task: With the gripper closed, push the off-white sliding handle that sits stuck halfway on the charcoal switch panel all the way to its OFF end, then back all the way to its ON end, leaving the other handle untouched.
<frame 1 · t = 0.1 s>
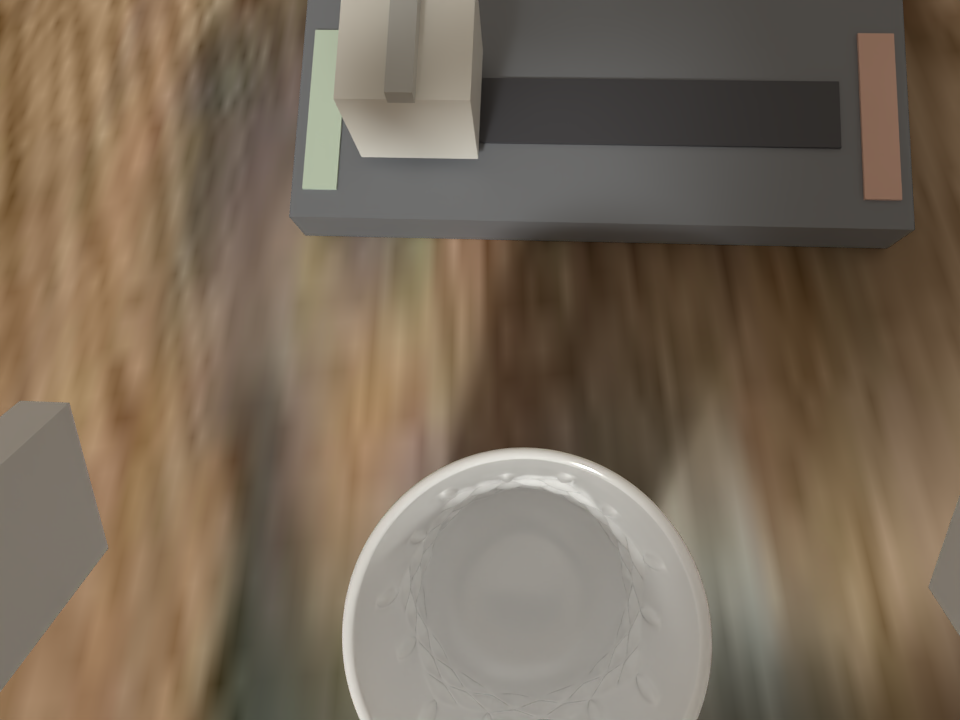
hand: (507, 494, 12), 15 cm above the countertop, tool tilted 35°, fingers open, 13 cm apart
white cup: (523, 578, 26), on the countertop
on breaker: (413, 67, 24), point 5 cm above the countertop, slide at 6.0 cm
switch panel: (593, 15, 30), on the countertop
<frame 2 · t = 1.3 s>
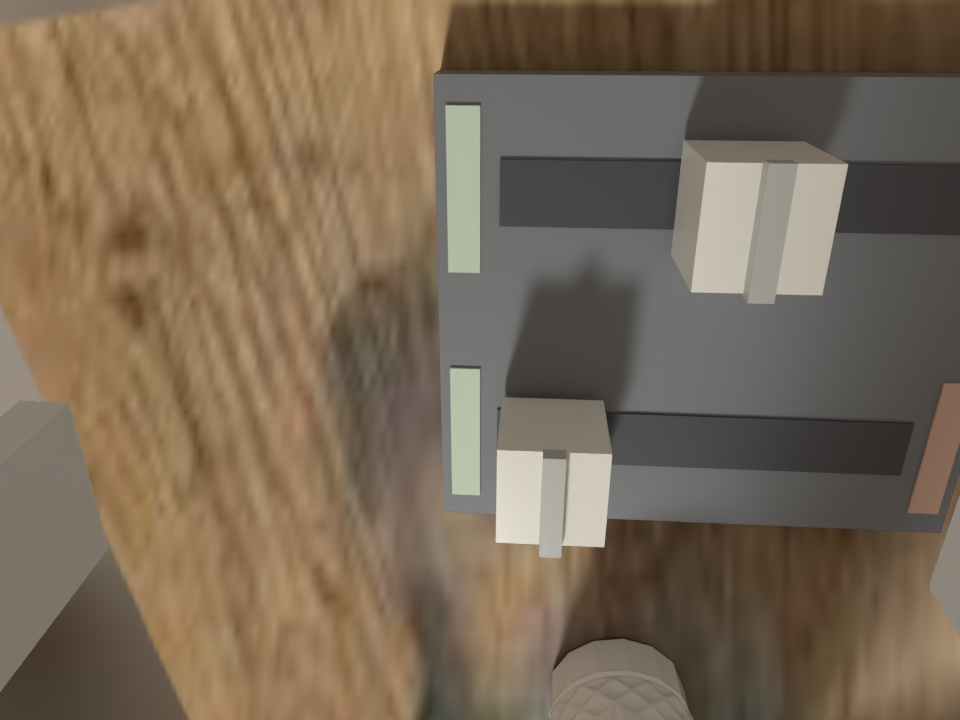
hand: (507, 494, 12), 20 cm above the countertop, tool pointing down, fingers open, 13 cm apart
white cup: (614, 682, 40), on the countertop
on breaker: (551, 473, 29), point 5 cm above the countertop, slide at 6.0 cm
switch panel: (703, 308, 31), on the countertop
tripped breaker: (752, 216, 25), point 5 cm above the countertop, slide at 0.0 cm
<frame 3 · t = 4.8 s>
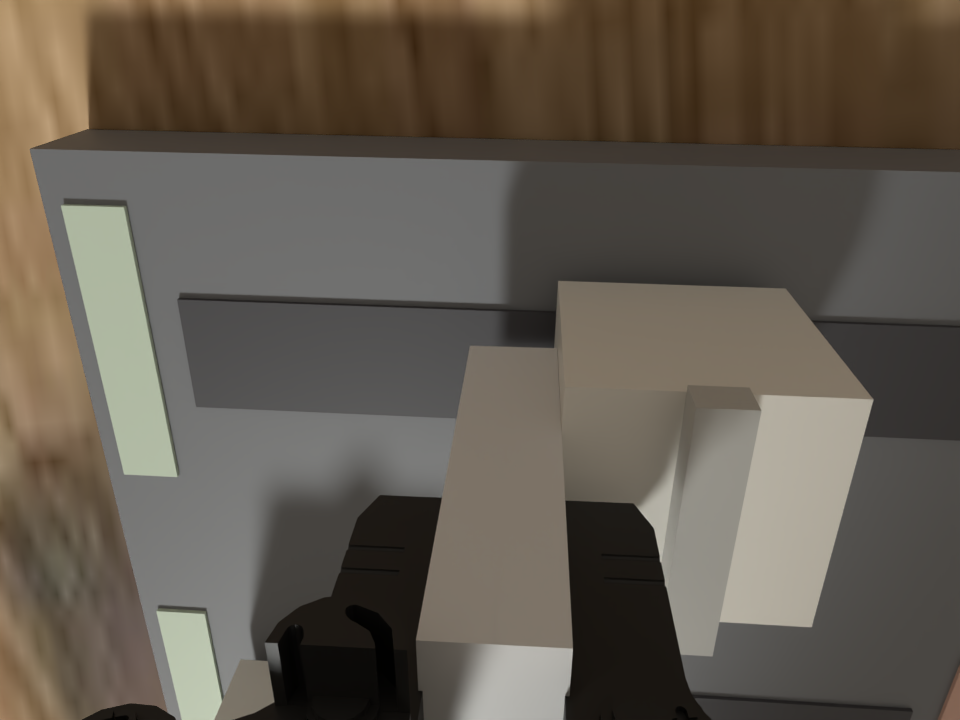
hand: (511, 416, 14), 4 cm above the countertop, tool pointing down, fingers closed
switch panel: (576, 512, 19), on the countertop
tripped breaker: (677, 450, 13), point 5 cm above the countertop, slide at -1.1 cm, touching gripper
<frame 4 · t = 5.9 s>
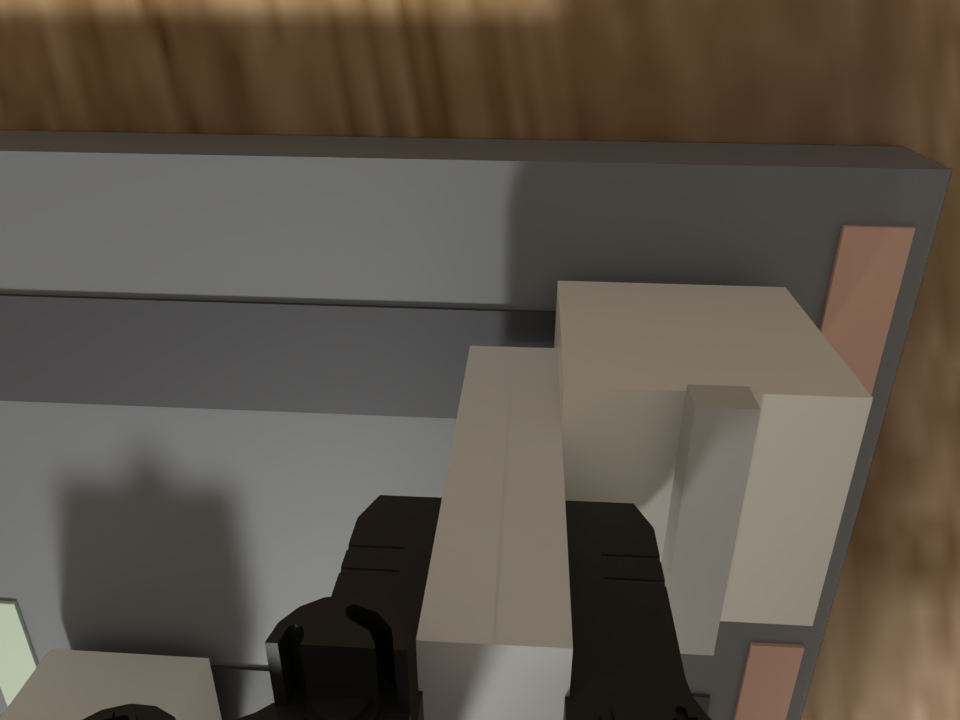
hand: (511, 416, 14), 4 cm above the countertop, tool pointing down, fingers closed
switch panel: (383, 502, 19), on the countertop
tripped breaker: (677, 449, 13), point 5 cm above the countertop, slide at -6.0 cm, touching gripper
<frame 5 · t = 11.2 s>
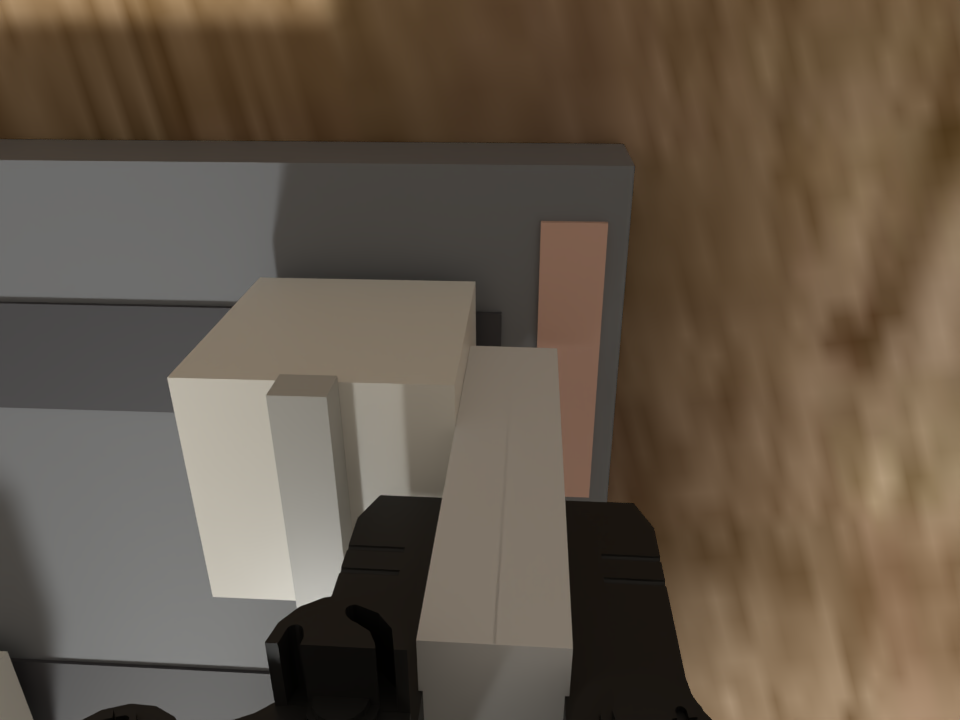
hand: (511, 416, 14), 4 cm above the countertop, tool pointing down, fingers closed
switch panel: (184, 497, 20), on the countertop
tripped breaker: (348, 439, 13), point 5 cm above the countertop, slide at -5.7 cm, touching gripper
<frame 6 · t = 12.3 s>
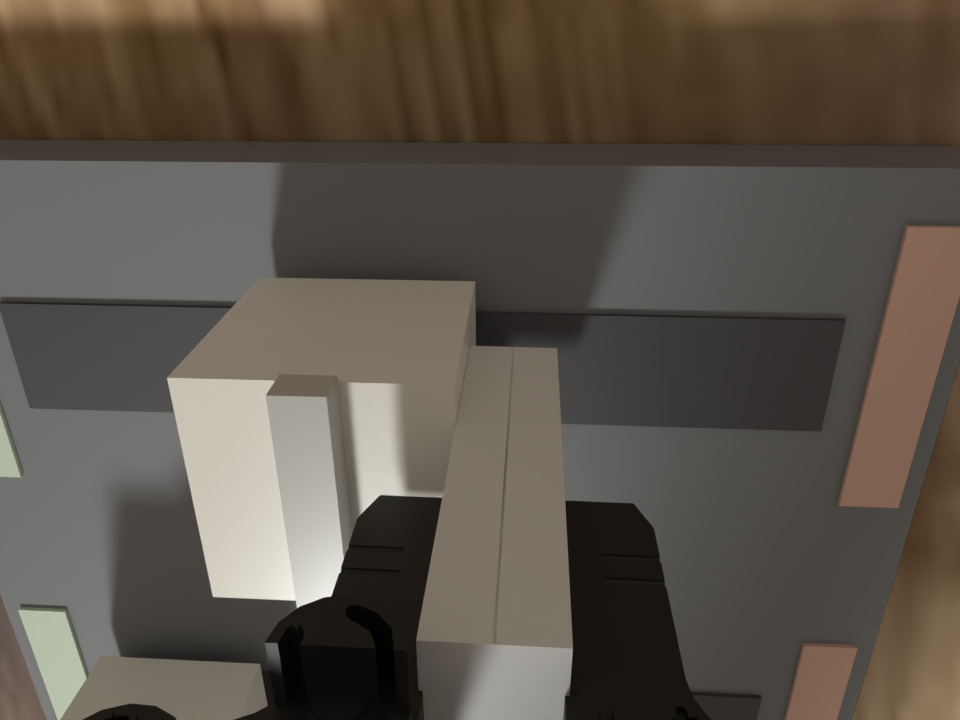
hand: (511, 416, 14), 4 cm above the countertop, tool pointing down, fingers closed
switch panel: (431, 506, 19), on the countertop
tripped breaker: (348, 439, 13), point 5 cm above the countertop, slide at 0.7 cm, touching gripper
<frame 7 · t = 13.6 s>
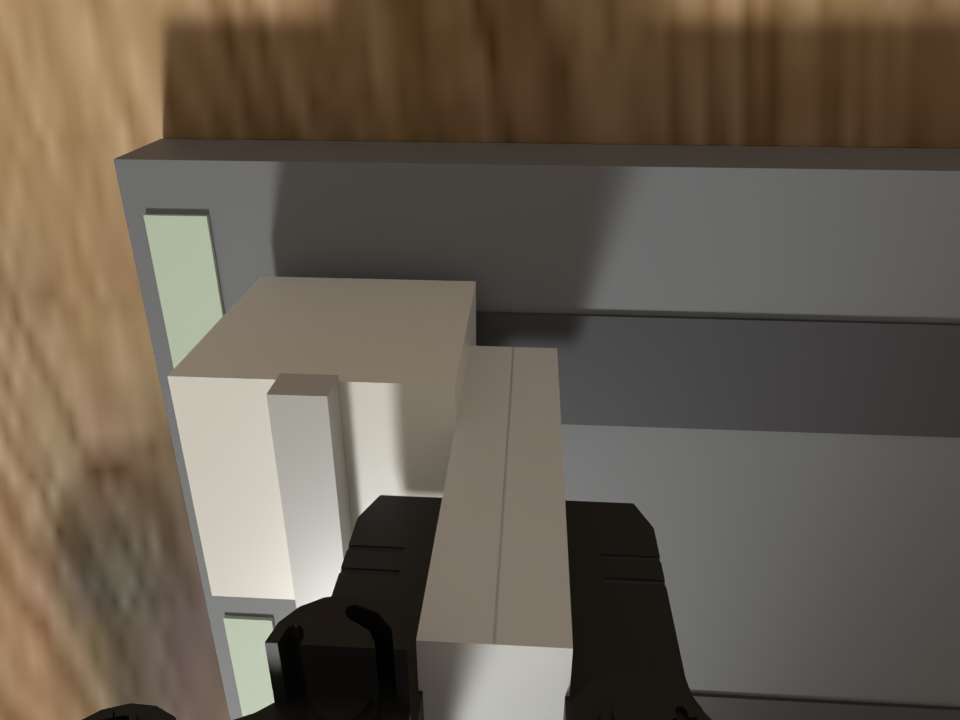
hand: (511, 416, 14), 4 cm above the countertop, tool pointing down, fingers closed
switch panel: (640, 515, 19), on the countertop
tripped breaker: (347, 438, 13), point 5 cm above the countertop, slide at 5.9 cm, touching gripper
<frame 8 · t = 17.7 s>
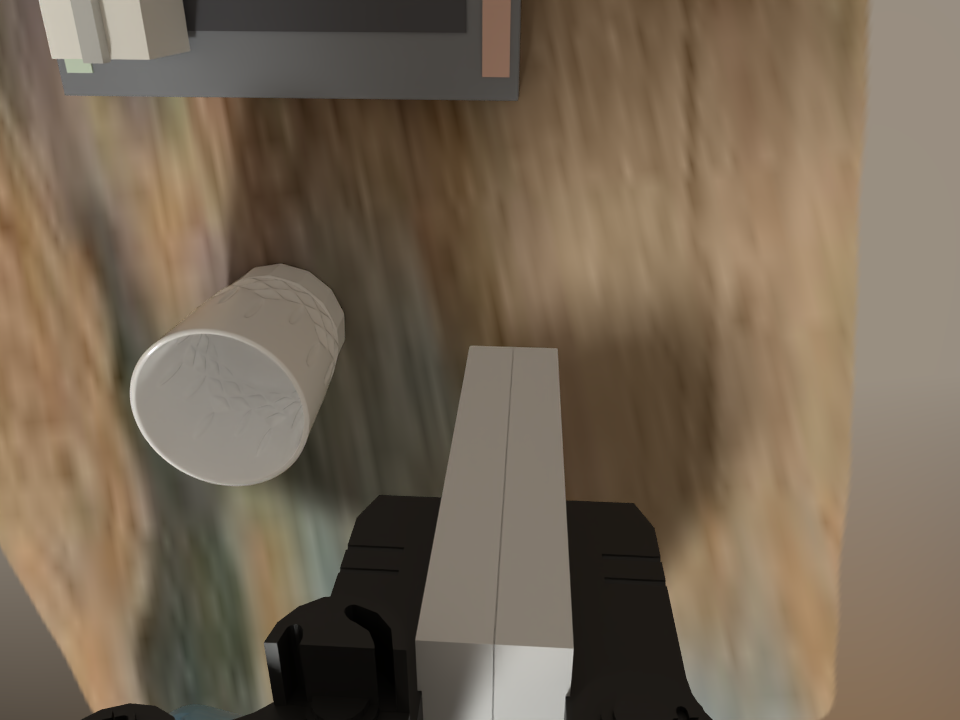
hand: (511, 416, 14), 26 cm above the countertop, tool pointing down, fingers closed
white cup: (287, 319, 43), on the countertop
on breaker: (111, 2, 31), point 5 cm above the countertop, slide at 6.0 cm
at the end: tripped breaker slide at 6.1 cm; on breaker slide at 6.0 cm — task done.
